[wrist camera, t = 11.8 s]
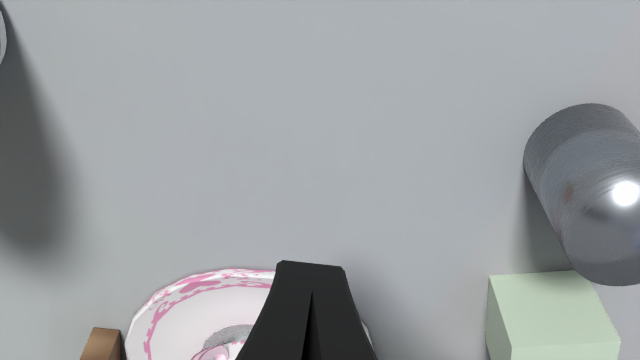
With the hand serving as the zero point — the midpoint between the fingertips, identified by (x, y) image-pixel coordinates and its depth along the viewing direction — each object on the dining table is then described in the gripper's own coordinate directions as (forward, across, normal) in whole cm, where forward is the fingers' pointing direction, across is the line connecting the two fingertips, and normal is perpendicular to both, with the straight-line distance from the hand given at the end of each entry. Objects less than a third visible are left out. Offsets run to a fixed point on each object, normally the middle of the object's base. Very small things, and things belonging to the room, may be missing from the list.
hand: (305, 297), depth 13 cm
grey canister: (+10, -10, +1) cm, 14 cm away
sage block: (+10, -11, +9) cm, 17 cm away
